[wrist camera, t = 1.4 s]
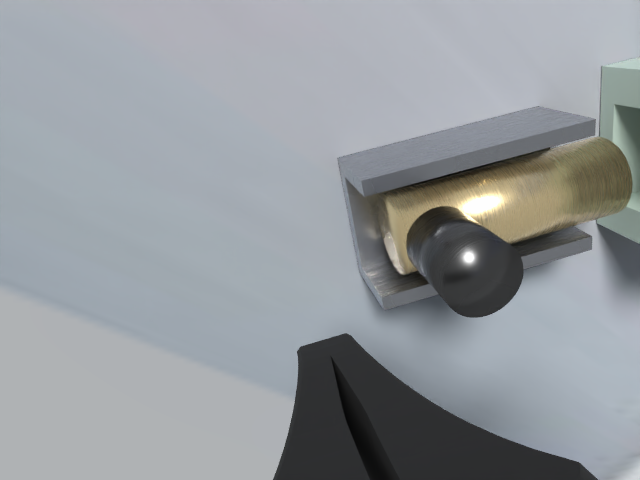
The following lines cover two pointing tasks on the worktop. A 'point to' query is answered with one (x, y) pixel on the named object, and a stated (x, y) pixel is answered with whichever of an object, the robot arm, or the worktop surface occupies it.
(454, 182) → the sliding bolt
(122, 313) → the worktop surface
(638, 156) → the socket
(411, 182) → the grey u channel
